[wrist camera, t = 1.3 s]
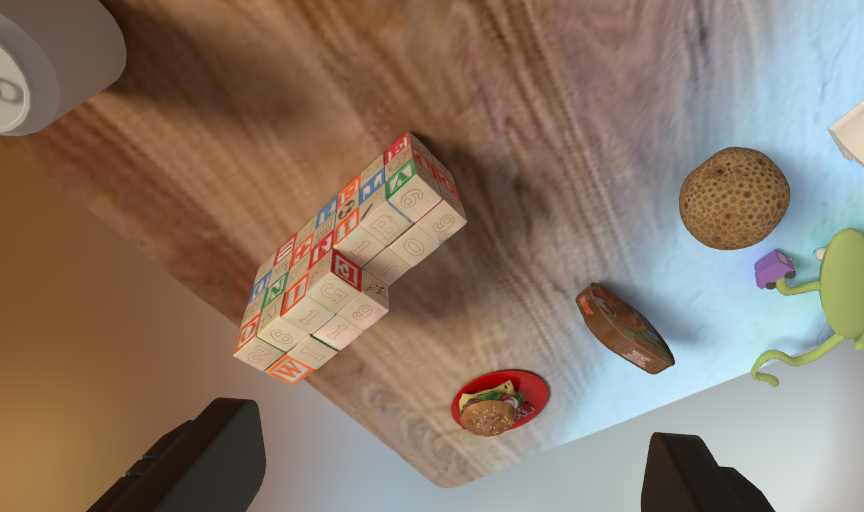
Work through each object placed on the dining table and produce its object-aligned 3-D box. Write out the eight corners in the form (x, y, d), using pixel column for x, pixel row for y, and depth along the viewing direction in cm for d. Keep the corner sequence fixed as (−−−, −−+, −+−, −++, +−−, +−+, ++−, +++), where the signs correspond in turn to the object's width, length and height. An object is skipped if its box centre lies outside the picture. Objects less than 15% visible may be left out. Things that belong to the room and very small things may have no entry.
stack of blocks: (407, 126, 41) (421, 192, 31) (452, 172, 44) (478, 245, 34) (257, 267, 48) (230, 358, 38) (305, 298, 51) (292, 389, 41)
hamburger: (465, 440, 71) (472, 478, 66) (438, 386, 62) (444, 425, 58) (554, 414, 69) (568, 451, 65) (538, 356, 61) (553, 393, 56)
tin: (653, 322, 60) (690, 373, 53) (634, 336, 61) (668, 388, 54) (581, 270, 53) (613, 321, 47) (561, 288, 55) (589, 339, 48)
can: (23, -50, 31) (-133, -38, 21) (144, 18, 34) (56, 56, 24) (5, 51, 34) (-137, 102, 24) (117, 105, 37) (30, 169, 27)
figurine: (726, 370, 68) (752, 402, 64) (748, 227, 53) (785, 256, 48) (854, 335, 67) (889, 364, 62) (916, 177, 51) (969, 201, 47)
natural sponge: (671, 132, 44) (739, 178, 36) (756, 129, 45) (841, 174, 37) (644, 214, 50) (699, 270, 42) (721, 210, 51) (789, 264, 43)
